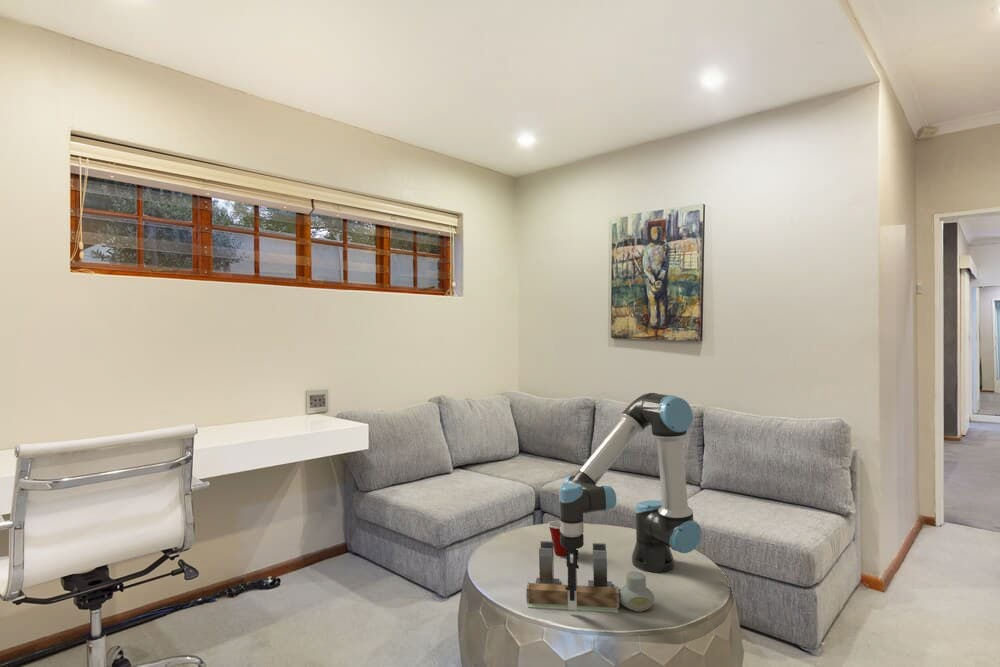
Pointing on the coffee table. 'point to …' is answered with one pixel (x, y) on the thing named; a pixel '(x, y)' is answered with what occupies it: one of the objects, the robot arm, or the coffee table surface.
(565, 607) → the mat
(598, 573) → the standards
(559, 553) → the plastic cup
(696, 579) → the coffee table surface
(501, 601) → the coffee table surface
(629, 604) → the air freshener
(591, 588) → the rail
